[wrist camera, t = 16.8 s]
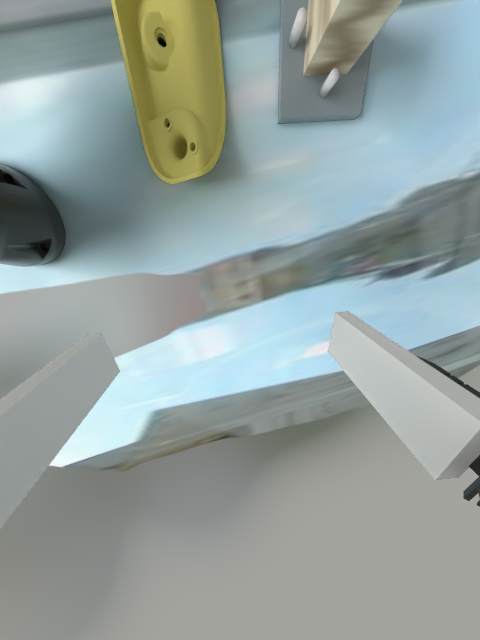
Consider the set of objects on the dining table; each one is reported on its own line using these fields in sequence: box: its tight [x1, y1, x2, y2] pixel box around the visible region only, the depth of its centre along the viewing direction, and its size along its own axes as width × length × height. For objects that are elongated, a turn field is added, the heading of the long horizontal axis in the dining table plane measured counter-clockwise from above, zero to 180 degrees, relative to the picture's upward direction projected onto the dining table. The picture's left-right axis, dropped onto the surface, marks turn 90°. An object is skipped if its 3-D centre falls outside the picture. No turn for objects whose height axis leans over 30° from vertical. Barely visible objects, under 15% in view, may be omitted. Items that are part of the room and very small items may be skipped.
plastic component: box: [111, 0, 226, 184], centre depth 25 cm, size 20×7×10 cm
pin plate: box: [278, 0, 373, 123], centre depth 22 cm, size 12×14×4 cm
